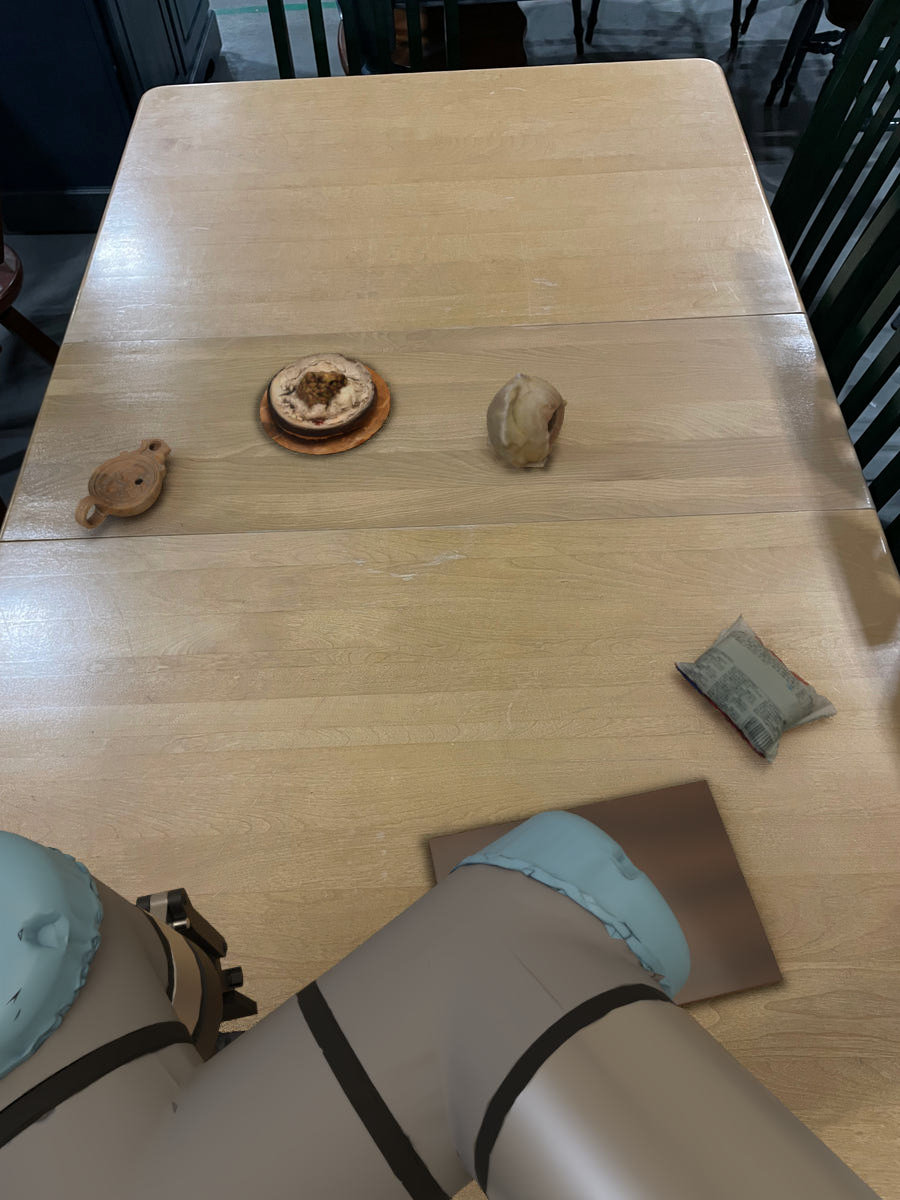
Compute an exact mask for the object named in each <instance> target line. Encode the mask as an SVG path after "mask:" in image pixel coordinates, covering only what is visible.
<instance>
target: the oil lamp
mask: <svg viewBox="0 0 900 1200" xmlns="http://www.w3.org/2000/svg"><path fill="white" fill-rule="evenodd" d="M171 452H172V448H171V447H170V446H169V445H168V444H167V443H166V442H165V440H163V439H161V438H147V439H141V445H140V447H139V448H137V449H135V450H131V451H127V450H123V451H121V452H120V453H119V455H117V456H115V457H112V458H110V459H108V460H106V461H104V462H102V463H101V464H100V465H98V466H97V467H96V468H95V469H94V470H93V472H92V473H91V474H90V477H89V479H88V480H87V492H88V494H89V495H86V496H85V497H83V498H81V499H80V500H79V502H78V503H77V505H76V507H75V511H74V520H75V521H76V523H77V524H78V525H80V527H83V528H85V529H87V530H92V529H96V528H97V527H99V526H100V525H101V524H102V523H103V522H104V521H105V520H106V518H107V516H110V515H111V516H114V517H123V518H124V517H133V516H136V515H139V514H142V513H144V512H145V511H147V510H148V509H150V507H152V506H153V504H154V503H155V502H156V500H157V499H158V497H159V496H160V494H161V490H162V486H163V480H164V479H165V476H166V473H167V468H166V466H165V464H166V460H167V458H168V456H169V455H170V453H171ZM93 506H94V509H93V513H92V514H91V515H90V516H89V517H88V513H89V511H90V509H91V508H92V507H93Z"/></svg>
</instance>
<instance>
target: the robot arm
mask: <svg viewBox="0 0 900 1200" xmlns="http://www.w3.org/2000/svg"><path fill="white" fill-rule="evenodd" d="M529 818H530V817H529ZM76 860H77V858H76V857H75V856H72V854H71V855H70V854H68V853H64V852H62V851H61V850H60V849H58V848H56V847H52V846H46V845H44V844H41V843H40V842H37V841H34V840H32V839H31V838H28V837H26V836H23V835H21V834H19V833H15V832H12V831H7V830H3V829H2V830H1V829H0V1200H453V1197H454V1196H456V1195H457V1194H458V1193H459V1192H461V1191H462V1190H463V1189H464V1188H465V1187H467V1186H469V1184H471V1183H472V1182H473V1181H475V1183H476V1184H477V1186H478V1187H479V1189H481V1191H482V1192H483V1194H484V1195H485V1196H486V1199H487V1200H884V1198H882V1197H881V1196H880V1195H879V1194H878V1193H877V1192H876V1191H875V1190H874V1189H873V1188H872V1187H871V1186H870V1185H869V1184H867V1183H866V1182H865V1181H864V1179H862V1178H861V1177H860V1175H858V1174H857V1173H856V1172H855V1171H854V1170H853V1169H852V1168H851V1167H850V1166H849V1165H848V1164H847V1163H846V1162H845V1161H844V1160H843V1159H842V1158H841V1157H839V1156H838V1155H837V1153H835V1152H834V1151H833V1150H832V1149H831V1148H830V1147H829V1146H828V1145H827V1144H826V1143H825V1142H824V1141H823V1140H822V1139H821V1138H820V1137H819V1136H817V1135H816V1134H815V1132H813V1131H812V1129H810V1128H809V1127H808V1126H807V1124H805V1123H804V1122H803V1121H802V1120H801V1119H800V1118H799V1117H798V1116H797V1115H796V1114H794V1112H793V1111H791V1109H789V1107H787V1106H786V1105H785V1103H784V1102H782V1101H781V1100H780V1099H779V1098H778V1097H777V1096H776V1095H775V1094H774V1093H773V1092H772V1091H771V1090H770V1089H769V1088H767V1086H765V1084H763V1083H762V1081H760V1079H758V1078H757V1076H755V1075H754V1074H753V1073H752V1072H751V1071H750V1070H749V1069H748V1068H747V1067H746V1066H745V1065H744V1064H742V1063H741V1061H740V1060H738V1059H737V1057H735V1056H734V1054H732V1053H731V1052H730V1051H729V1050H728V1049H727V1048H726V1047H725V1046H724V1045H722V1043H721V1042H719V1040H718V1039H716V1038H715V1037H714V1035H712V1034H711V1033H710V1032H709V1031H708V1030H707V1029H706V1028H705V1027H704V1026H703V1025H702V1024H701V1023H700V1022H699V1021H698V1020H697V1019H696V1018H695V1017H694V1016H693V1015H691V1013H689V1011H687V1009H685V1008H683V1007H682V1006H679V1007H678V1006H677V1005H676V1004H675V1003H674V1002H673V997H674V996H675V995H676V994H677V993H678V992H679V991H680V990H681V989H682V988H683V986H684V985H685V983H686V981H687V980H688V978H689V974H690V969H691V960H690V952H689V947H688V944H687V941H686V938H685V936H684V933H683V931H682V929H681V927H680V925H679V923H678V921H677V919H676V917H675V915H674V914H673V912H672V910H671V909H670V907H669V906H668V904H667V902H666V901H665V899H664V898H663V896H662V895H661V894H660V892H659V891H658V889H657V888H656V887H655V885H654V884H653V883H652V882H651V881H650V879H649V878H648V877H647V876H646V874H645V873H644V872H642V871H640V870H639V869H638V868H637V867H635V866H634V865H633V863H632V862H631V861H630V860H629V858H628V857H627V856H626V854H625V852H624V850H623V849H622V847H621V846H620V845H619V844H618V843H617V842H616V841H614V840H613V839H612V838H611V837H610V836H609V835H608V834H606V833H605V832H604V831H603V830H601V829H600V828H598V827H597V826H596V825H594V824H593V823H591V822H590V821H588V820H587V819H584V818H582V817H580V816H578V815H575V814H572V813H569V812H566V811H563V810H558V809H554V810H547V811H542V812H539V813H537V814H535V815H533V816H531V818H530V819H528V820H527V821H525V822H524V823H522V824H521V825H519V826H518V827H516V828H514V829H513V830H511V831H510V832H508V833H507V834H505V835H504V836H502V837H501V838H499V839H497V840H496V841H494V842H493V843H491V844H490V845H488V846H487V847H485V848H484V849H482V850H480V851H479V852H477V853H476V854H474V855H472V856H469V857H467V858H465V859H463V860H462V861H461V862H460V863H459V864H458V865H456V866H455V867H454V868H453V869H452V871H451V872H450V873H449V876H447V877H446V878H445V879H443V880H442V881H441V882H440V883H438V884H437V883H436V885H435V886H433V887H432V888H430V889H429V890H428V891H427V892H425V893H424V894H423V895H421V896H420V897H419V898H418V899H416V900H415V901H414V902H412V904H410V905H409V906H408V907H406V908H404V910H403V911H401V912H400V913H399V914H397V915H396V916H395V917H394V918H392V919H391V920H390V921H389V922H387V923H385V924H384V925H383V926H382V927H381V928H380V929H378V930H377V931H376V932H374V933H373V934H372V935H371V936H370V937H368V938H367V939H366V940H364V941H363V942H362V943H361V944H359V945H358V946H357V947H355V948H354V949H352V951H350V952H349V953H348V954H347V955H346V956H344V957H343V958H341V959H340V960H339V961H338V962H336V963H335V964H334V965H332V966H331V967H330V968H328V969H327V970H326V971H325V972H324V973H322V974H321V975H320V976H318V977H317V978H315V979H314V980H312V981H311V982H309V983H308V984H306V986H304V987H303V988H301V989H300V990H299V991H298V992H295V993H294V994H293V995H291V996H289V998H287V999H286V1000H285V1001H284V1002H282V1003H281V1004H280V1005H277V1007H276V1008H275V1009H273V1010H272V1011H270V1012H269V1013H268V1014H267V1015H265V1016H264V1017H263V1018H261V1019H260V1020H258V1021H257V1022H256V1023H255V1024H254V1025H252V1026H251V1027H250V1028H248V1029H247V1030H245V1031H246V1032H244V1033H243V1034H242V1035H241V1036H239V1037H238V1038H237V1039H235V1040H234V1041H233V1042H231V1043H230V1044H229V1045H228V1046H226V1047H225V1048H224V1049H222V1050H221V1051H220V1052H218V1053H217V1054H216V1055H215V1048H214V1047H213V1046H214V1044H215V1042H216V1039H217V1036H218V1033H219V1031H220V1030H221V1024H222V1023H225V1022H230V1021H234V1020H239V1019H242V1018H243V1019H244V1018H247V1017H252V1016H256V1015H258V1013H259V1012H258V1002H257V1001H255V1000H253V999H252V998H250V997H249V996H247V995H246V994H243V993H242V992H240V991H238V990H236V989H238V988H243V986H244V972H243V969H242V968H243V967H242V966H241V965H238V966H234V967H229V968H224V969H223V967H222V964H221V963H222V962H221V959H224V958H226V957H227V952H228V950H229V949H228V948H229V947H228V946H229V945H228V942H227V941H226V938H225V936H223V935H222V934H221V932H219V931H218V930H217V929H216V928H215V927H214V926H213V925H212V924H211V923H210V922H209V921H208V920H207V919H206V918H205V917H204V916H203V915H202V914H201V913H199V912H198V910H197V909H195V908H194V906H193V903H192V901H191V899H190V896H189V895H188V892H187V890H186V889H185V887H179V888H174V889H170V890H165V891H160V892H155V893H152V894H151V893H150V894H145V895H142V896H137V897H136V901H135V903H132V902H131V901H129V900H128V899H126V897H124V896H122V895H121V894H120V893H118V892H117V891H115V890H114V889H113V888H112V887H110V886H108V885H107V884H105V883H104V882H103V881H101V880H100V879H99V878H97V877H96V876H94V875H93V874H92V873H91V872H90V870H89V868H88V867H87V866H86V865H85V864H84V863H83V862H82V861H76Z"/></svg>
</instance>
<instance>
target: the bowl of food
mask: <svg viewBox="0 0 900 1200" xmlns="http://www.w3.org/2000/svg"><path fill="white" fill-rule="evenodd" d="M344 354H345V353H344V352H341V353H339V352H326V353H325V352H323V353H315V354H311V355H307V356H305V357H302V358H300V359H298V360H295V361H293V362H291V364H288V365H285V367H283V368H282V369H280V370H279V372H277V373H276V374H275V375H273V377H272V379H271V380H270V382H269V384H268V386H267V389H266V390H265V392H264V394H263V397H262V399H261V402H260V408H259V416H260V421H261V424H262V427H263V429H264V431H265V433H266V434H267V435H268V436H269V437H270V438H271V439H272V440H273V441H274V442H275V443H277V444H278V445H280V446H282V447H284V448H286V449H288V450H290V451H293V452H297V453H302V454H307V455H316V456H317V455H327V454H328V455H329V454H337V453H340V452H346V451H348V450H350V449H353V448H355V447H357V446H360V445H361V444H364V443H365V442H366V441H367V440H369V439H370V438H371V437H372V436H373V435H374V434H375V433H376V432H377V431H378V430H379V429H380V428H381V427H382V426H383V424H384V422H385V421H386V420H387V418H388V415H389V413H390V409H391V393H390V390H389V387H388V385H387V384H386V382H385V380H384V379H383V377H381V375H380V374H378V373H377V371H375V370H373V369H372V368H370V367H368V366H367V365H365V364H363V363H361V362H360V361H359V360H358V359H353V358H350V357H349V356H347V357H345V355H344Z"/></svg>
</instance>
